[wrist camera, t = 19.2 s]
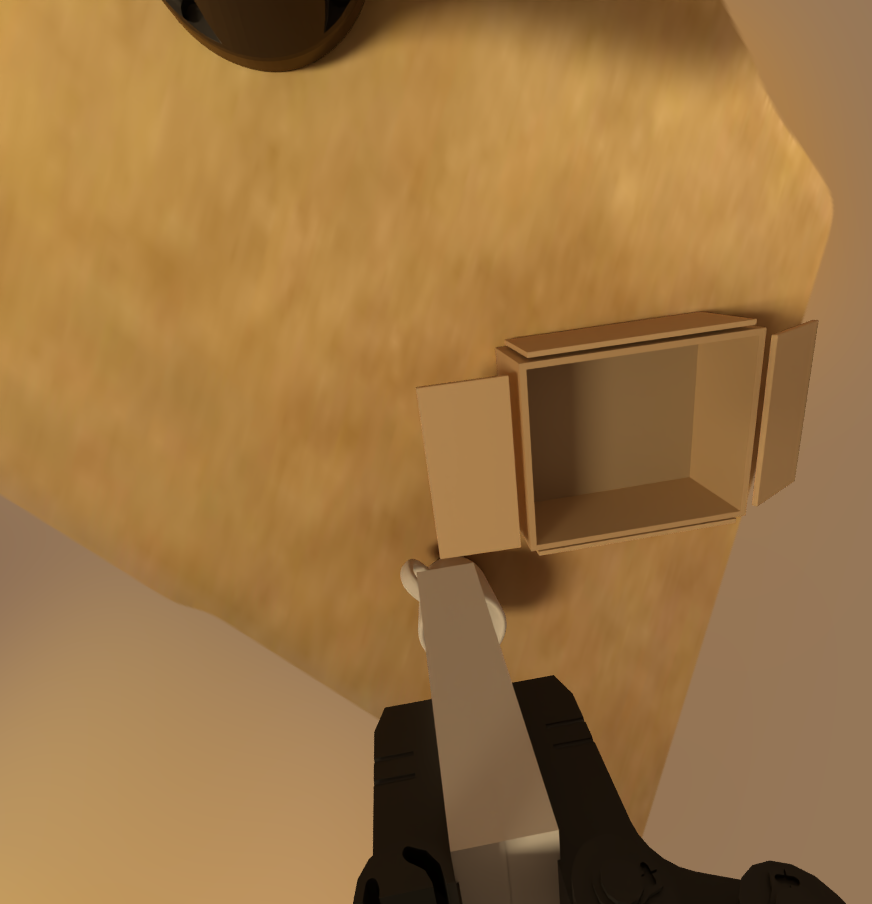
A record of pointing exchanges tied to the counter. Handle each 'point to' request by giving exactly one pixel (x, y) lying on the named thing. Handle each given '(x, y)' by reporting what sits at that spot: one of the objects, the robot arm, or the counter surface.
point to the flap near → (471, 465)
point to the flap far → (783, 409)
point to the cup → (416, 566)
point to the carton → (632, 427)
